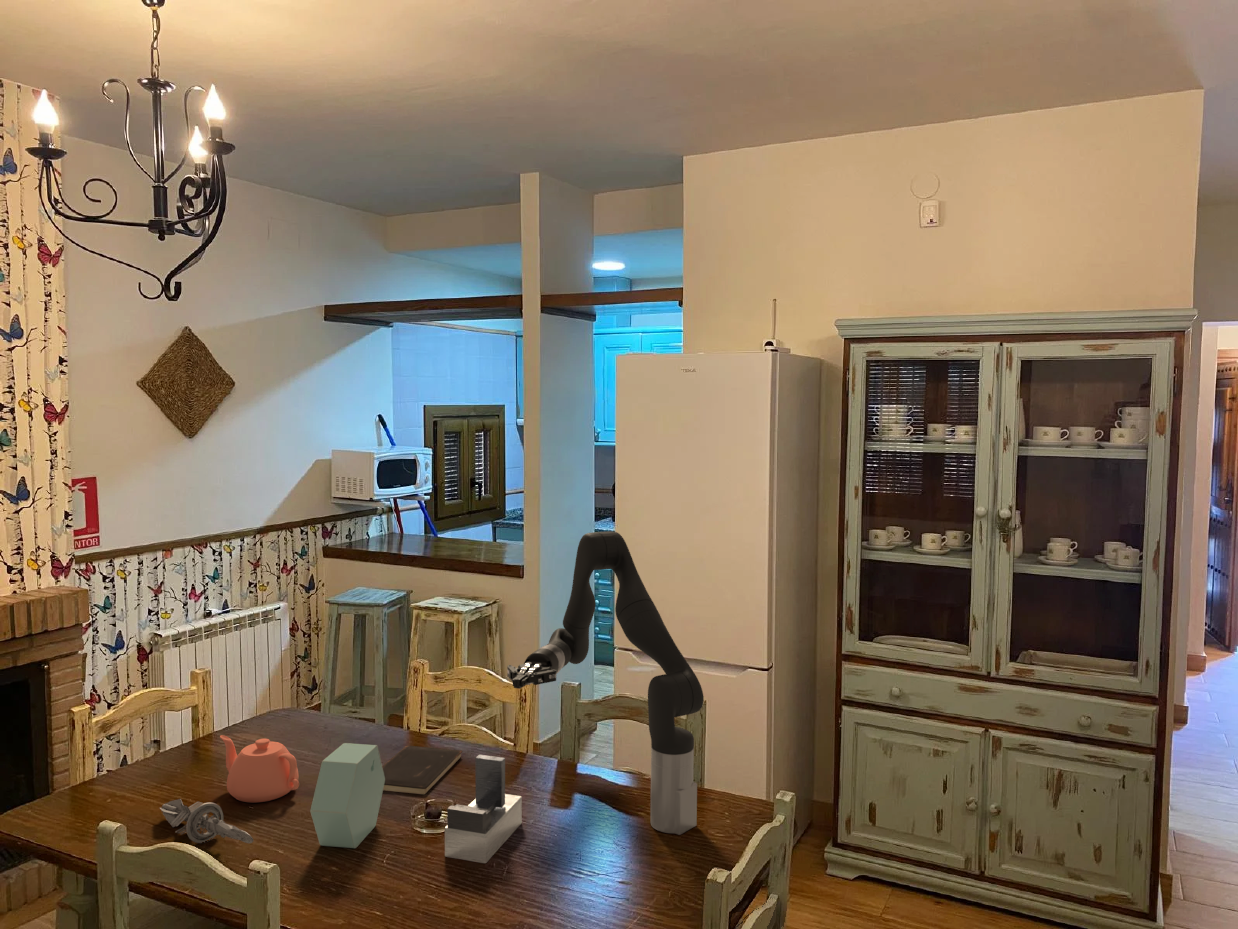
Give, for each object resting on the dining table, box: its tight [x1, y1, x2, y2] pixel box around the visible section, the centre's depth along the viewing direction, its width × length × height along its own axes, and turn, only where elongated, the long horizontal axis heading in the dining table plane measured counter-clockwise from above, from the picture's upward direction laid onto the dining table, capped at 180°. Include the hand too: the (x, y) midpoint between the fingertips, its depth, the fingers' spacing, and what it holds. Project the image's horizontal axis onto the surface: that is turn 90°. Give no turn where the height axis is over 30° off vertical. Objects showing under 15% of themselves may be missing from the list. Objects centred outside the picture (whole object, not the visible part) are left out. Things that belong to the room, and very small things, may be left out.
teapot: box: [219, 734, 300, 803], centre depth 209 cm, size 22×16×12 cm
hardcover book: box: [382, 745, 463, 795], centre depth 221 cm, size 16×23×2 cm
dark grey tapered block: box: [473, 754, 506, 811], centre depth 185 cm, size 11×6×10 cm, turn 163°
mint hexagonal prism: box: [309, 742, 385, 849], centre depth 188 cm, size 17×8×21 cm
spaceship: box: [159, 798, 254, 844], centre depth 185 cm, size 8×35×8 cm
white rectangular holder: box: [444, 793, 523, 864], centre depth 187 cm, size 18×9×10 cm, turn 163°
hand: (516, 684), depth 201 cm, fingers closed
